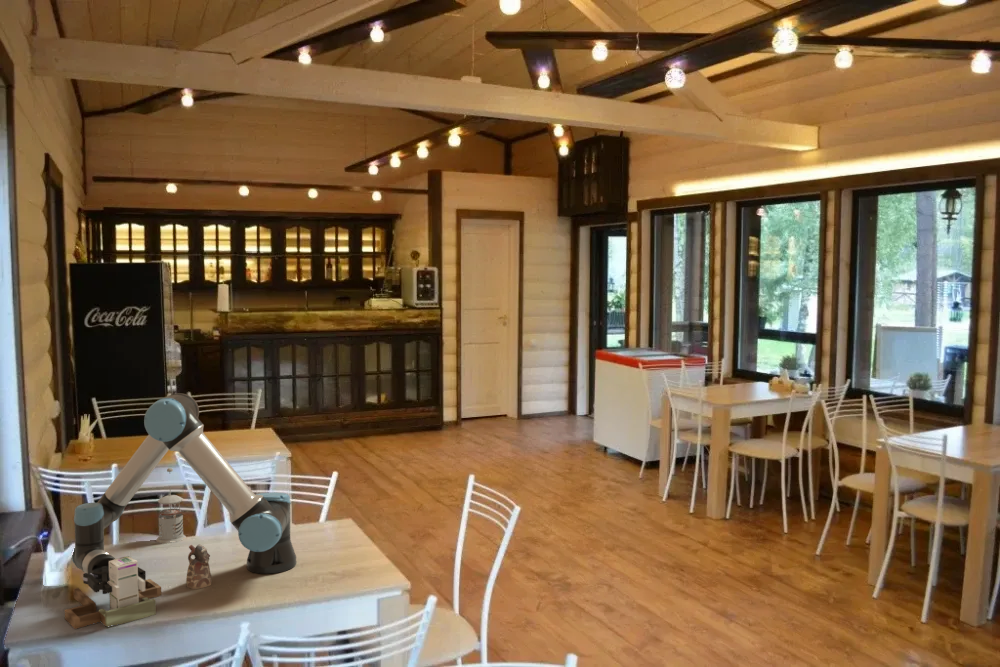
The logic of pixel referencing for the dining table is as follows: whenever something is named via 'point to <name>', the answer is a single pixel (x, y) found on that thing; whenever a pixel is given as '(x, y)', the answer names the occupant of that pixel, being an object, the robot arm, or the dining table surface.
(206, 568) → the figurine
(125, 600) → the syrup box
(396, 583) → the dining table surface
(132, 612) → the channel
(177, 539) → the french press
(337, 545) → the dining table surface
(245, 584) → the dining table surface
